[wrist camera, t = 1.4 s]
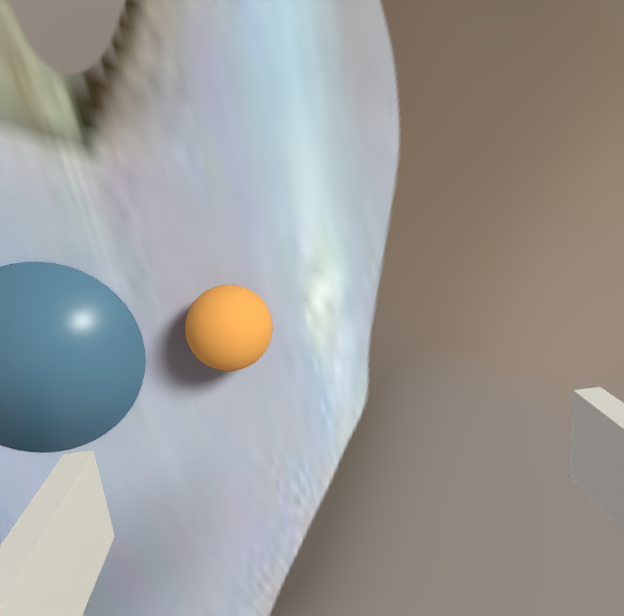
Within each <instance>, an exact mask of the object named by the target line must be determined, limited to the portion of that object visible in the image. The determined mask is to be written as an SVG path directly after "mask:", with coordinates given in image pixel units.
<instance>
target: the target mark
mask: <svg viewBox="0 0 624 616" xmlns="http://www.w3.org/2000/svg"><path fill="white" fill-rule="evenodd" d="M144 372H145V349H144V344H143V340H142V336H141V333H140V330H139V328H138V325H137V323H136V321H135V319H134V317H133V315H132V314H131V312H130V311H129V310H128V308H127V307H126V305H125V304H124V303H123V302H122V301H121V300H120V298H119V297H118V296H117V295H116V294H115V293H114V292H112V291H111V290H110V289H109V288H108V287H107V286H105V285H104V284H102V283H101V282H99V281H98V280H96V279H95V278H93V277H91V276H89V275H87V274H85V273H83V272H81V271H78V270H76V269H73V268H70V267H67V266H62V265H58V264H53V263H44V262H23V263H16V264H10V265H6V266H2V267H0V444H2V445H4V446H8V447H11V448H15V449H19V450H26V451H34V452H51V451H61V450H66V449H72V448H75V447H78V446H81V445H84V444H86V443H89V442H91V441H93V440H95V439H97V438H99V437H100V436H102V435H104V434H105V433H107V432H108V431H109V430H111V429H112V428H113V427H114V426H116V425H117V424H118V423H119V422H120V421H121V420H122V419H123V418H124V416H125V415H126V414H127V412H128V411H129V410H130V408H131V407H132V405H133V403H134V402H135V400H136V398H137V396H138V393H139V391H140V388H141V386H142V382H143V377H144Z"/></svg>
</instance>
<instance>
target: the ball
mask: <svg viewBox="0 0 624 616" xmlns="http://www.w3.org/2000/svg"><path fill="white" fill-rule="evenodd" d="M185 333H186V339H187V342H188V345H189V347H190V349H191V350H192V352H193V353H194V355H195V356H196V357H197V358H198V359H199V360H200V361H201V362H203V363H204V364H206V365H207V366H209V367H211V368H214V369H217V370H222V371H234V370H240V369H243V368H246V367H248V366H250V365H251V364H253V363H255V362H256V361H257V360H258V359H259V358H260V357H261V356H262V355H263V354H264V352H265V351H266V349H267V348H268V345H269V343H270V340H271V337H272V319H271V315H270V312H269V310H268V308H267V306H266V304H265V303H264V302H263V300H262V299H261V298H260V297H259V296H258V295H257V294H255V293H254V292H252V291H251V290H249V289H247V288H244V287H241V286H237V285H222V286H217V287H214V288H212V289H209V290H207V291H206V292H204V293H203V294H202V295H200V296H199V297H198V298H197V299H196V300H195V302H194V303H193V304H192V306H191V308H190V310H189V312H188V314H187V318H186V324H185Z"/></svg>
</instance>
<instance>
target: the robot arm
mask: <svg viewBox="0 0 624 616" xmlns="http://www.w3.org/2000/svg"><path fill="white" fill-rule="evenodd" d="M569 477H570V478H571V479H572V480H573V481H574V482H575V483H576V484H577V485H578V486H579V488H580V489H581V490H582V491H583V492H584V493H585V494H586V495H587V496H588V497H589V498H590V499H591V500H592V501H593V502H594V504H595V505H596V506H597V507H598V508H599V509H600V510H601V511H602V512H603V513H604V514H605V515H606V516H607V517H608V518H609V519H610V521H611V522H612V523H613V524H614V525H615V526H616V527H617V528H618V529H619V530H620V531H621V532H622V533H623V534H624V403H622V402H621V401H620V400H618V399H617V398H615V397H614V396H612V395H611V394H609V393H608V392H607V391H605V390H604V389H602V388H601V387H596V388H588V389H580V390H574V391H573V408H572V426H571V441H570V459H569ZM114 537H115V536H114V532H113V528H112V524H111V520H110V516H109V512H108V508H107V504H106V500H105V496H104V492H103V488H102V484H101V480H100V476H99V472H98V468H97V464H96V460H95V456H94V452H93V451H85V452H77V453H69V454H63V456H62V457H61V459H60V460H59V462H58V463H57V465H56V466H55V467H54V469H53V470H52V472H51V473H50V475H49V476H48V478H47V479H46V480H45V482H44V483H43V485H42V486H41V488H40V489H39V490H38V492H37V493H36V495H35V496H34V498H33V499H32V501H31V502H30V503H29V505H28V506H27V508H26V509H25V511H24V512H23V514H22V515H21V516H20V518H19V519H18V521H17V522H16V524H15V525H14V526H13V528H12V529H11V531H10V532H9V534H8V535H7V537H6V538H5V539H4V541H3V542H2V544H1V545H0V616H82V615H83V612H84V610H85V608H86V605H87V603H88V600H89V598H90V595H91V593H92V590H93V588H94V586H95V583H96V581H97V578H98V576H99V573H100V571H101V568H102V566H103V564H104V561H105V559H106V556H107V554H108V551H109V549H110V546H111V544H112V542H113V539H114Z"/></svg>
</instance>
